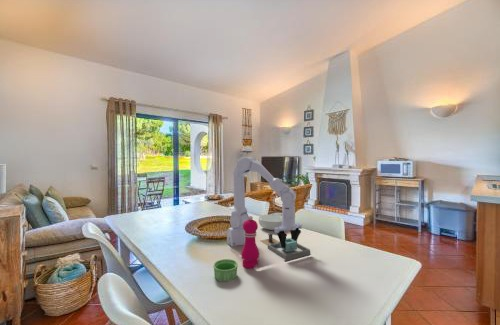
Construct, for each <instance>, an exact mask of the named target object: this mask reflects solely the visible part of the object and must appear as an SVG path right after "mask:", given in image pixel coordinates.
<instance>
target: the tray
mask: <svg viewBox="0 0 500 325" xmlns="http://www.w3.org/2000/svg"><path fill="white" fill-rule="evenodd" d="M277 248H280V241H279V243H274V244H270V245H268V246H267V249H268V250H269V251H271V252H272V253H274V254H276V256H279V257H280V258H282V259H283V262H285V263H288V262H291V261H296V260H299V259H302V258H306V257H309V256H310V255H311V249H309V248H307V247H305V246H303V245H301V244H299V243H298V242H297V249H299V251H296V252H291V253H288V254H285V253H284V252H282V251H281V250H279V249H277Z"/></svg>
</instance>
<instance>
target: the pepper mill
mask: <svg viewBox="0 0 500 325" xmlns="http://www.w3.org/2000/svg"><path fill="white" fill-rule="evenodd" d="M248 216H249V217H248V219H249V220H246V221H245V222H244V223H243V229H244V231H245V232H244V236H245V244H244V245H243V247H242V249H241V255H240V256H241V258H242V267H243V268H246V269H251V270H252V269H256V266H257V265H258V263H259V260H258V259H259V257H260V252H259V251H260V250H259V248H258V245H257V243H256V237H257V230H258V228H259V226H258V225H259V224H258V223H257V222H258V221H256V220H254V219H253V216H251V215H248Z"/></svg>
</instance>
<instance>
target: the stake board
mask: <svg viewBox="0 0 500 325" xmlns="http://www.w3.org/2000/svg"><path fill="white" fill-rule="evenodd" d="M273 235H274V233H268V234H267V236H268V238H266V239H260V240H259V242H261V243H263V244H264V245H266V246H267V247H268V245H270V244H274V243H279V242H280V240H277V239H275V237H274V238H273Z"/></svg>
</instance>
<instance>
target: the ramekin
mask: <svg viewBox="0 0 500 325" xmlns="http://www.w3.org/2000/svg"><path fill="white" fill-rule="evenodd" d="M238 267H239V264H238V262H237V261H236V260H234V259H231V258H225V259H220V260H217V261H215V262H214V263H213V266H212V268H213V272H214V273H213V274H214V278H215V279H216V280H217V281H219V282H230V281H233V280H235V279H236V278H237V272H238Z"/></svg>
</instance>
